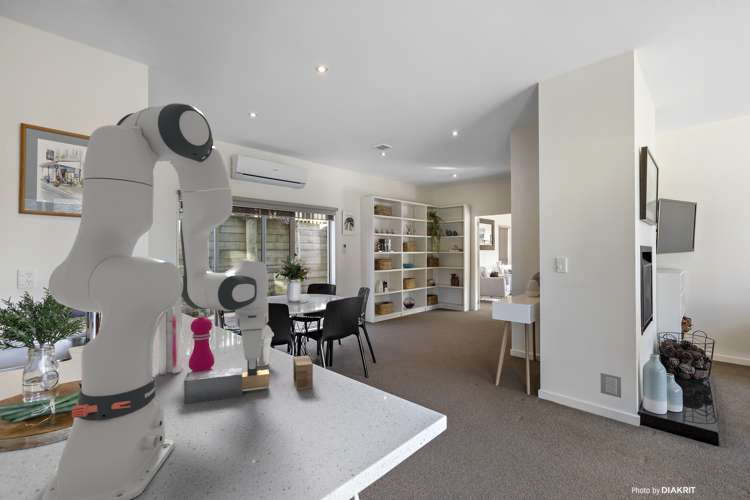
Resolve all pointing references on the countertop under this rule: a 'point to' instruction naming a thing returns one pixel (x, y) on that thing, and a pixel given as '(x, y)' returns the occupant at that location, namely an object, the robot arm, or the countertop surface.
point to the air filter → (171, 341)
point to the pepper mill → (201, 345)
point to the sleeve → (212, 385)
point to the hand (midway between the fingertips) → (252, 365)
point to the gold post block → (255, 378)
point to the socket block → (302, 372)
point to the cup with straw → (265, 346)
